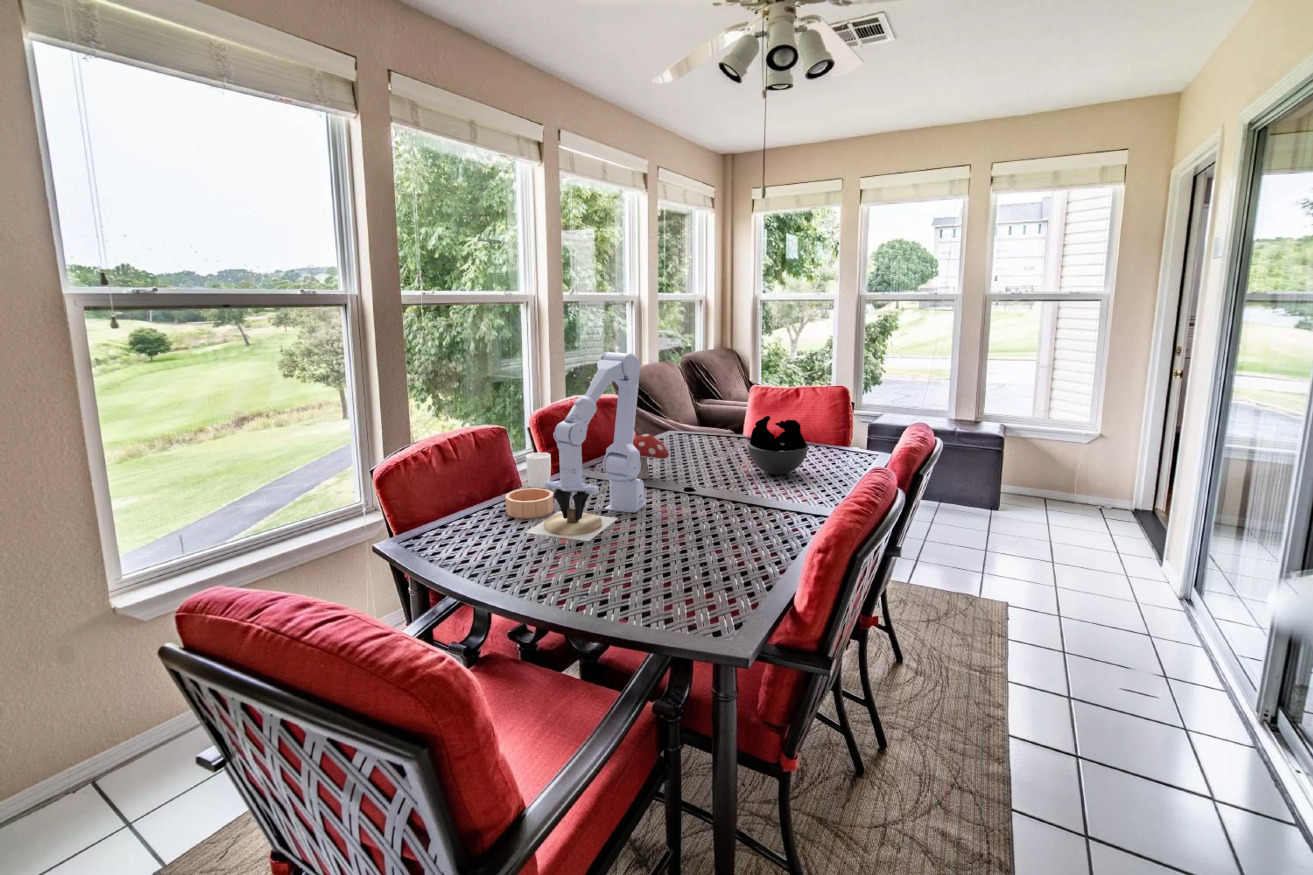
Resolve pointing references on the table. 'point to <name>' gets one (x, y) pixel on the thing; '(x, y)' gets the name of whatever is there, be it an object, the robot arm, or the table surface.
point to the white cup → (538, 469)
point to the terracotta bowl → (529, 503)
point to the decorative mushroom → (648, 451)
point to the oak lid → (572, 523)
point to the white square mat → (584, 537)
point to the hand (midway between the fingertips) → (572, 518)
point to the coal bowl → (777, 447)
